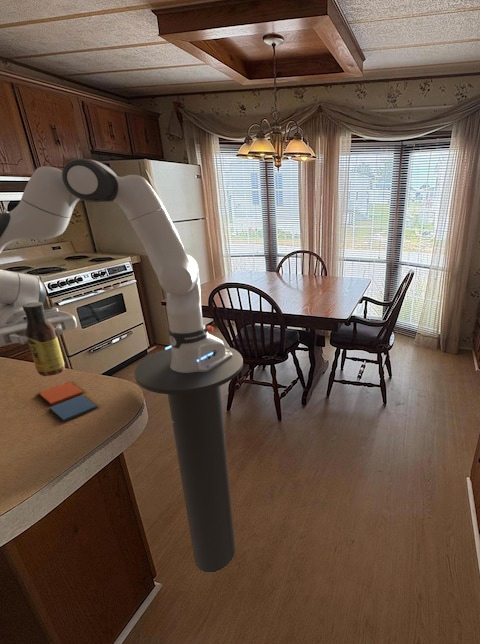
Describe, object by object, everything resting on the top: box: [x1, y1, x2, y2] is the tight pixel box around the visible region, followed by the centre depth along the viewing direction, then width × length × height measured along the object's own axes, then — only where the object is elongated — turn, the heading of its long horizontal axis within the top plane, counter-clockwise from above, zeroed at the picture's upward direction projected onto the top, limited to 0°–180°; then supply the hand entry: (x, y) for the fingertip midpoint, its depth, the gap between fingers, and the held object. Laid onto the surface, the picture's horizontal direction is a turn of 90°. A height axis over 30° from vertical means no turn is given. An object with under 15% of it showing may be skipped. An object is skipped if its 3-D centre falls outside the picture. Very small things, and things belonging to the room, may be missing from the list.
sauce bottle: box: [23, 302, 66, 377], centre depth 91 cm, size 7×6×20 cm
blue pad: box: [49, 394, 98, 422], centre depth 94 cm, size 8×9×1 cm
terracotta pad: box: [38, 381, 84, 406], centre depth 101 cm, size 8×9×1 cm
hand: (43, 336), depth 90 cm, fingers closed on sauce bottle, 6 cm apart
